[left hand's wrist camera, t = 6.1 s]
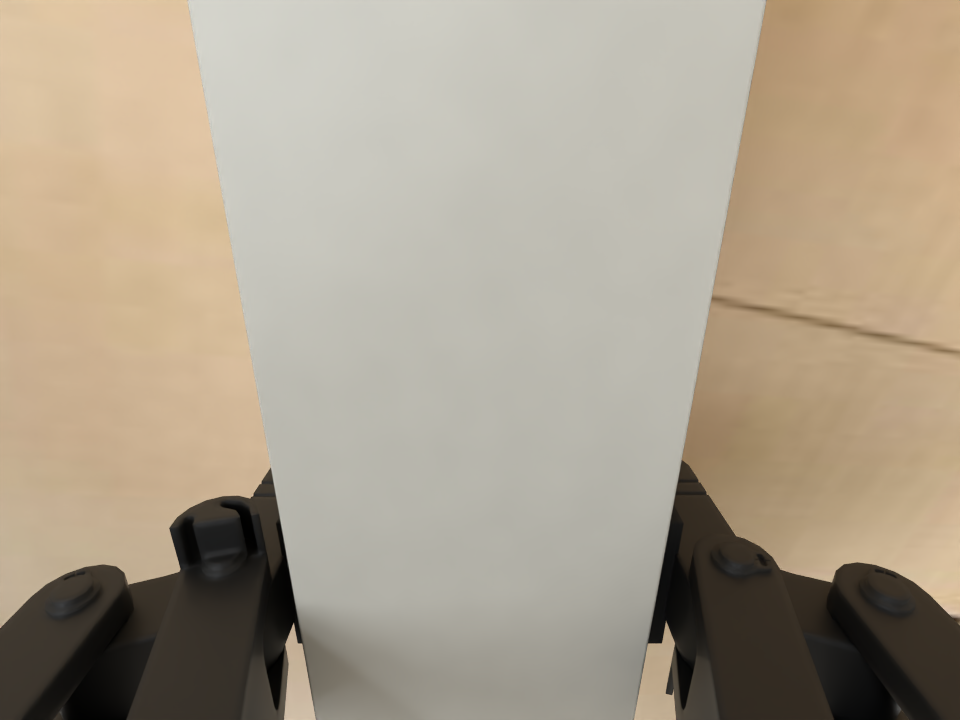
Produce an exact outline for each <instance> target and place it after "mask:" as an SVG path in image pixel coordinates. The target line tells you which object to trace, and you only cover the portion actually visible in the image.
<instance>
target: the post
mask: <svg viewBox="0 0 960 720" xmlns="http://www.w3.org/2000/svg"><path fill="white" fill-rule="evenodd" d="M187 1H188V6H189V12H190V17H191V23H192V29H193V34H194V40H195V45H196V51H197V57H198V62H199V68H200V73H201V79H202V85H203V90H204V96H205V101H206V107H207V113H208V118H209V124H210V129H211V135H212V140H213V146H214V152H215V157H216V163H217V168H218V174H219V180H220V185H221V191H222V196H223V202H224V208H225V213H226V219H227V224H228V230H229V236H230V241H231V247H232V252H233V258H234V263H235V269H236V275H237V280H238V286H239V291H240V297H241V303H242V308H243V314H244V319H245V325H246V331H247V336H248V342H249V347H250V353H251V359H252V364H253V370H254V375H255V381H256V386H257V392H258V398H259V403H260V409H261V414H262V420H263V426H264V431H265V437H266V442H267V448H268V454H269V459H270V465H271V470H272V476H273V482H274V487H275V493H276V498H277V504H278V509H279V515H280V521H281V526H282V532H283V537H284V543H285V549H286V554H287V560H288V565H289V571H290V577H291V582H292V588H293V593H294V599H295V605H296V610H297V616H298V621H299V627H300V632H301V638H302V644H303V649H304V655H305V660H306V666H307V672H308V677H309V683H310V688H311V694H312V700H313V705H314V711H315V716H316V720H634V715H635V710H636V705H637V699H638V694H639V688H640V683H641V678H642V672H643V667H644V661H645V656H646V650H647V645H648V640H649V634H650V629H651V623H652V618H653V613H654V607H655V602H656V596H657V591H658V585H659V580H660V575H661V569H662V564H663V558H664V553H665V547H666V542H667V537H668V531H669V526H670V520H671V515H672V510H673V504H674V499H675V493H676V488H677V482H678V477H679V472H680V466H681V461H682V455H683V450H684V445H685V439H686V434H687V428H688V423H689V417H690V412H691V407H692V401H693V396H694V390H695V385H696V380H697V374H698V369H699V363H700V358H701V352H702V347H703V342H704V336H705V331H706V325H707V320H708V315H709V309H710V304H711V298H712V293H713V287H714V282H715V277H716V271H717V266H718V260H719V255H720V249H721V244H722V239H723V233H724V228H725V222H726V217H727V212H728V206H729V201H730V195H731V190H732V184H733V179H734V174H735V168H736V163H737V157H738V152H739V147H740V141H741V136H742V130H743V125H744V119H745V114H746V109H747V103H748V98H749V92H750V87H751V81H752V76H753V71H754V65H755V60H756V54H757V49H758V44H759V38H760V33H761V27H762V22H763V16H764V11H765V6H766V0H187Z"/></svg>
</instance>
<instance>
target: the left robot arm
mask: <svg viewBox="0 0 960 720" xmlns="http://www.w3.org/2000/svg"><path fill="white" fill-rule="evenodd" d="M169 529H170V532H171V536H172V540H173V543H174V547H175V550H176V554H177V557H178V561H179V565H180V568H181V570H180V572H178V573H174V574H171V575H168V576H164V577H160V578H155V579H151V580H147V581H142V582H138V583H134V584H129V585H128V583H127V580H126V577H125V574H124V572H122V571H121V570H120V569H119V568H117V567H115V566H109V565H97V566H90V567H84V568H81V569H79V570H76V571H73V572H70V573H67V574H65V575H63V576H61V577H59V578H57V579H56V580H54V581H52V582H50V583H48V584H47V585H45V586H44V587H43V588H42V589H40V590H39V591H38V592H37V593H36V594H34V595H33V596H32V597H31V598H30V599H29V600H28V601H27V602H26V603H25V604H24V605H23V606H22V607H21V608H20V609H19V610H18V611H17V612H16V613H15V614H14V615H13V616H12V617H11V618H10V619H9V620H8V621H7V622H6V623H5V624H4V625H3V626H2V627H1V628H0V720H284V712H285V700H286V688H287V676H288V658H287V652H286V647H285V643H286V641H287V638H288V636H289V633H290V631H291V628H292V625H293V623H294V625H295V631H296V636H297V641H298V643H302V638H301V632H300V627H299V621H298V616H297V610H296V605H295V599H294V593H293V588H292V582H291V577H290V571H289V565H288V560H287V554H286V549H285V543H284V537H283V532H282V526H281V521H280V515H279V509H278V504H277V498H276V493H275V487H274V482H273V476H272V470H271V468H270V470H269V471H268V473H267V474H266V476H265V477H264V479H263V480H262V484H260V485H259V486H258V488H257V489H256V491H255V492H254V496H253V497H251V498H250V499H249V498H245V497H241V496H223V497H219V498H214V499H210V500H206V501H204V502H202V503H200V504H198V505H195V506H193V507H191V508H189V509H188V510H187V511H185V512H184V513H183V514H181V515H180V516H179V517H177V518H176V520H175V521H174V523H173V524H172V525H171V527H170V528H169ZM666 621H667V624H668V626H669V629H670V631H671V634H672V636H673V639H674V641H675V647H674V652H673V657H672V662H671V667H670V672H669V677H668V683H667V689H666V694H669V695H672V694H673V689H674V699H675V711H676V720H960V625H959V624H958V623H957V622H956V621H955V620H954V619H953V618H952V617H951V616H950V615H949V614H948V613H947V612H946V611H945V610H944V609H943V608H942V607H941V606H940V605H939V604H938V603H937V602H936V601H935V600H934V599H933V598H932V597H931V596H930V595H929V594H928V593H926V592H925V591H924V590H923V589H921V588H920V587H919V586H918V585H917V584H915V583H914V582H912V581H911V580H909V579H907V578H905V577H903V576H901V575H900V574H898V573H896V572H894V571H891V570H888V569H885V568H882V567H879V566H877V565H872V564H865V563H858V562H857V563H851V564H844V565H843V566H841V567H840V568H839V569H838V570H836V572H835V575H834V578H833V581H832V583H831V582H827V581H822V580H818V579H814V578H809V577H805V576H801V575H796V574H792V573H789V572H786V571H782V570H780V569H779V567H778V565H777V564H776V562H775V561H774V559H773V557H772V556H770V555H769V554H768V553H767V552H766V551H764V550H763V549H762V548H761V547H760V546H758V545H756V544H754V543H752V542H750V541H748V540H746V539H743V538H740V537H736V536H735V534H734V533H733V531H732V530H731V528H730V527H729V525H728V524H727V522H726V521H725V519H724V518H723V516H722V515H721V513H720V512H719V510H718V509H717V507H716V506H715V504H714V503H713V501H712V500H711V498H710V497H709V495H707V494H706V491H705V489H704V488H703V486H702V485H701V483H699V482H698V479H697V477H696V476H695V474H694V473H693V471H692V470H691V468H690V467H689V465H688V464H686V463H685V462H684V461H681V466H680V472H679V477H678V482H677V488H676V493H675V499H674V504H673V510H672V515H671V520H670V526H669V531H668V537H667V542H666V547H665V553H664V558H663V564H662V569H661V575H660V580H659V585H658V591H657V596H656V602H655V607H654V613H653V618H652V623H651V629H650V634H649V640H648V643H662V640H663V634H664V629H665V623H666Z"/></svg>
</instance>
